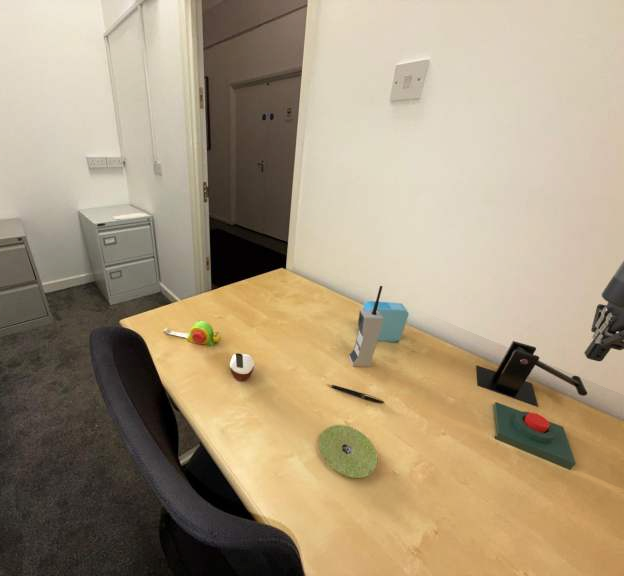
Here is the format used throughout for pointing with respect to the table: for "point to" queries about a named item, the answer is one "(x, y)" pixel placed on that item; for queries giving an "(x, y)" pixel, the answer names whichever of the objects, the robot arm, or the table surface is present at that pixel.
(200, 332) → the toy measuring tape
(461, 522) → the table surface
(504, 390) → the switch bracket
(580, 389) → the switch lever
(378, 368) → the table surface
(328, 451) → the green grinding wheel
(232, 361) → the cupcake
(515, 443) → the control block
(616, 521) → the table surface
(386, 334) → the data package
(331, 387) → the fountain pen
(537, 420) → the button
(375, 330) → the vintage mobile phone
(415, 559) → the table surface
